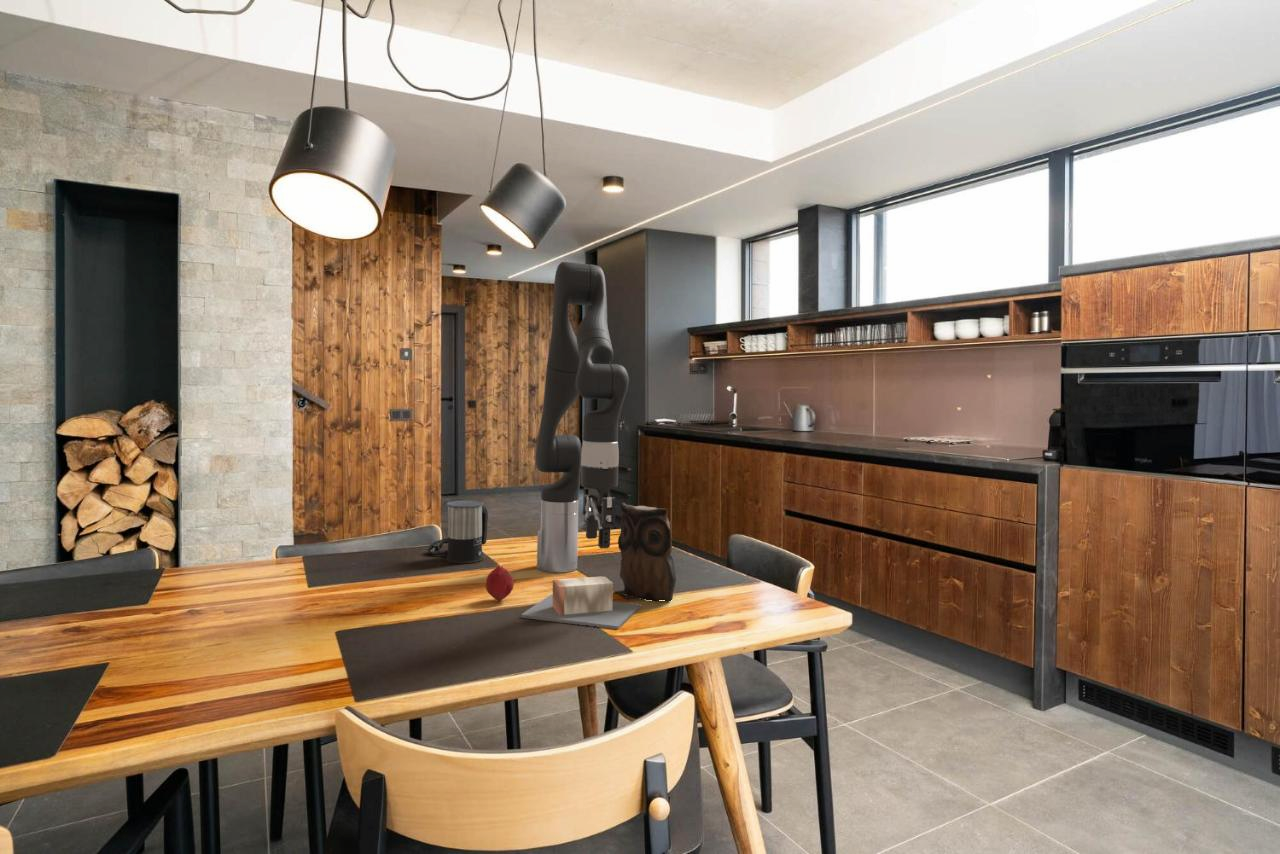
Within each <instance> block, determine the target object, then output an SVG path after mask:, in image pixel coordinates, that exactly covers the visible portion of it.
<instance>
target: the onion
mask: <svg viewBox="0 0 1280 854" xmlns="http://www.w3.org/2000/svg"><path fill="white" fill-rule="evenodd" d="M484 585H485V589H486V591H487V593H488V594H489V595H490V596H491V597H492V598H493V599H494V600H495V601H497V602H501V601H503V600H504V599H505V598H507V597H508V596H509V595H510V594H511V592H512V591H513V589H514V585H515V582H514V578H513V576H512V574H511V573H510V572H509V570H508V569H507V568H505V567H503V565H502V564H501V563H500V562H498V563H497V564H496V567H495V568H494V569H493V570H491V571H490V573H489V574H488V575H487V577H486V579H485V583H484Z"/></svg>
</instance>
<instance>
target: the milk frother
mask: <svg viewBox="0 0 1280 854" xmlns="http://www.w3.org/2000/svg"><path fill="white" fill-rule="evenodd" d="M446 506H447V508H448V509H447V514H448V515H447V538H443V539H442V538H441V539H439V540H436V541H434V542H432V543H430V545H429V546H428V547H427V553H429V554H430V555H434V556H446V555H447V557H446V561H447V562H448V563H453V564H473V563H474V564H475V563H478V562H481V561H482V560H483V559H484V556H483V545H486V544H487V536H488V522H489V521H488V518H489V513H488V509H487V507H486V506H485V505H484V502H482V501H480V500H453V501H449V502H447V503H446ZM445 544H446V545H447V549H445V550H441V549H442V548H443V546H444V545H445Z"/></svg>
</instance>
